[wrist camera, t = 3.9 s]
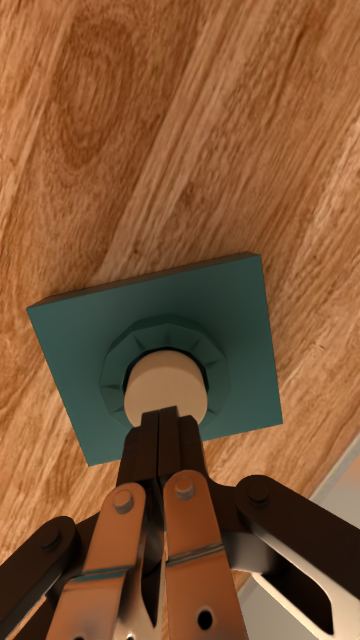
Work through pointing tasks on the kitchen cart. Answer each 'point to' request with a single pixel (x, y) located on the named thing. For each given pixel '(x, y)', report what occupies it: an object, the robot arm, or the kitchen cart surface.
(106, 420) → the push button base
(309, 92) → the kitchen cart surface
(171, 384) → the button
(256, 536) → the robot arm
